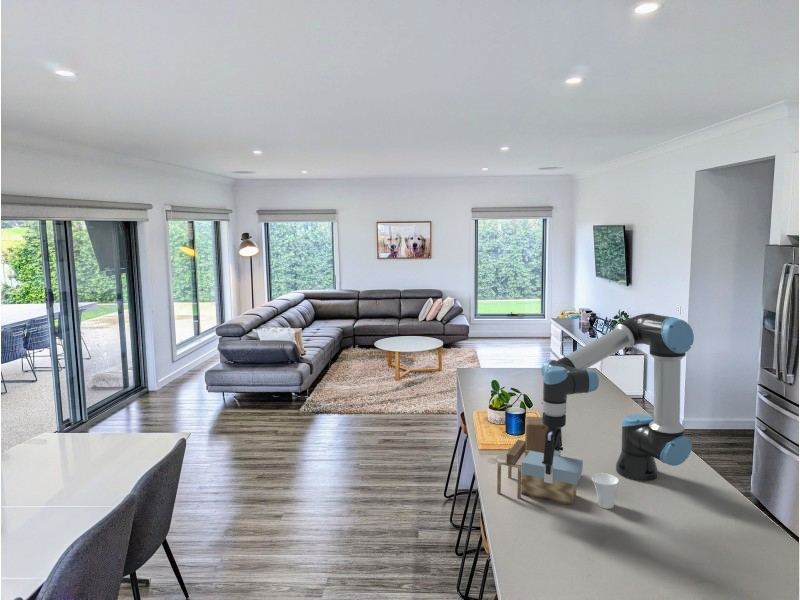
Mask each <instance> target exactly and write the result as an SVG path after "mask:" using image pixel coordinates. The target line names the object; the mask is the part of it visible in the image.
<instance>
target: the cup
mask: <svg viewBox="0 0 800 600" xmlns="http://www.w3.org/2000/svg"><path fill="white" fill-rule="evenodd" d="M591 481H592V482H593V484H594V487H595V491H596V504H597V506H598V507H600V508H602V509H607V510H608V509H613V508H614V507H615V495H616V494H615V493H616V490H617V487H618V485H619V483H620V480H619V478H618V477H617V476H616V475H612V474H610V473H606V472H600V473H599V472H598V473H594V474H593V475H592V476H591Z"/></svg>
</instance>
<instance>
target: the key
mask: <svg viewBox="0 0 800 600" xmlns="http://www.w3.org/2000/svg"><path fill="white" fill-rule="evenodd" d="M525 450H526V441H525V440H522V439H517V440H516V442H515V443H514V444H513V445H512V448H511V449H510V451H509V450H508V452H507V453H506V462H507V464H512V465H515V464H517V462H519V460H520V458H521V456H522V455H523V454H525V453H524V451H525Z"/></svg>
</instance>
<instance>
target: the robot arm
mask: <svg viewBox="0 0 800 600" xmlns="http://www.w3.org/2000/svg"><path fill="white" fill-rule="evenodd" d="M693 330H694V329H693V328H692V327H691V325H690V324H689V323H688V321H685V320H683V319H680V318H677V317H674V316H673V317H672V316H668V315H667V316H666V315H660V314H655V313H643V314H638V315H634V316H633V317H630V318H628V319H627V318H626V320H623V321H622V322H619V323H617V324H615V326H614V329H613V330H611V331H609V332H606V333H605V334H604V335H602V336H599V337H598V338H596V339H595V340H592V341H590V342H589V343H587V344H585V345H583V346H581V347H580V348H578V349H576V350H574V351H573V352H570V353H569V354H567V355H566V356H564V357H562V358H559V359H558V360H556V359H548V360H546V361H544V362H543V364H542V366H541V374H542V376H543V379H542V383H543V388H542V390H543V391H542V392H543V393H542V395H543V396H542V397H543V398H542V400H543V401H541V405H542V411H543V412H542V417H543V418H542V422H543V424H544V425H546V426H548V427H549V428H548V430H547V432H546V435H545V436H546V437H545V450H544V459H543V461H542V464H545V466H544V482H547V483H551V484H552V483H553V457H554V455H557V456H562V455H561V452H562V451H563V450H564V447H563V439H562V438H563V436H562V428H563V427H565V426H566V423H567V418H566V417H567V415H566V414H567V400H568V399H567V398H568V395H576V394H585V393H586V394H588V393H591V392H595V391H597V389H598V388H599V385H600V378H599V376H598V374H597V373H596V372H595V370H593V369H589V368H590V367H593V366H594V365H596V364H598V363H599V362H601V361H603V360H604V359H607V358H608V357H610V356H612V355H614V354H616V353H617V352H619V351H621V350H622V349H625V348H632V347H634V346H636V345H646V346H649V355H650V356H651V357H652V358H653V416H652V415H650V414H649V415H648V414H629V415H625V416H624V417H623V420H622V425H621V426H622V427H621V452H620V454H619V457H618V459H617V461H616V463H615V471H616V472H617V473H618V474H619V475H620V476H621V477H624V478H626V479H628V480H629V479H630V480H633V481H640V482H649V481H653V480H656V479H657V478H658V473H659V472H658V470H659V469H658V467H657V463H656V460H655V459H657V460H659V461H660V462H661V463H664V464H666V465H668V466H672V467H675V466H676V467H677V466H680V465H681V464H683V463H684V462H686V460H687V459H688V458H689V456H690V455H691V452H692V449H693V448H692V447H693V445H692V441H691V440H690V439H689V438H688V437H687V436H685V426H684V425H683V424H681V415H680V414H681V367H682V366H681V362H682V361H681V360H682V359H684V357H686V353H687V352H689V351H690V350H691V348H692V347H691V346H693V344H694V341H695V335H694V331H693Z"/></svg>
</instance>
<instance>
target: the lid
mask: <svg viewBox="0 0 800 600" xmlns="http://www.w3.org/2000/svg"><path fill="white" fill-rule="evenodd" d="M543 459H544V453H541V452H535V451H530V452H529V453H528V454H527V456H526V457H525V456H524V459H523V460H522V462H521V475H522V474H526V475H531V476H535V477H540V478H544V466H545V464H542V461H543ZM583 461H584V460H583V459H578V458H572V457H567V456H562V455H560V456H557V455H554V457H553V480H555V481H560V482H565V483H570V484H574V485H576V486H577V485H578V483H579V480H580V478H581V476H582V474H583V471H584V469H583V468H584V462H583Z"/></svg>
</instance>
